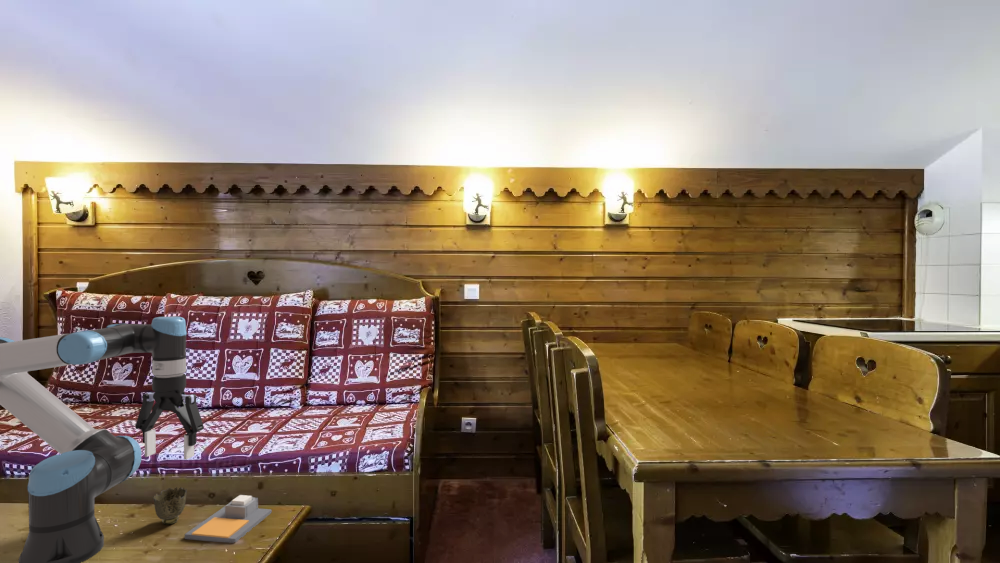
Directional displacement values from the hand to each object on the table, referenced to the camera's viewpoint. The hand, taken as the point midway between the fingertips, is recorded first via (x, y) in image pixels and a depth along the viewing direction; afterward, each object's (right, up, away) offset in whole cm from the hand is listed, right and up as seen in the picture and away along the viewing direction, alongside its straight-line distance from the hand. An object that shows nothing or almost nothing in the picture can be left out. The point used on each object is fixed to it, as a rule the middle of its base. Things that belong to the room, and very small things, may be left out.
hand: (169, 456), depth 129 cm
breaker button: (+17, -16, +4) cm, 24 cm away
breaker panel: (+17, -18, -1) cm, 25 cm away
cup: (0, -18, 0) cm, 18 cm away
